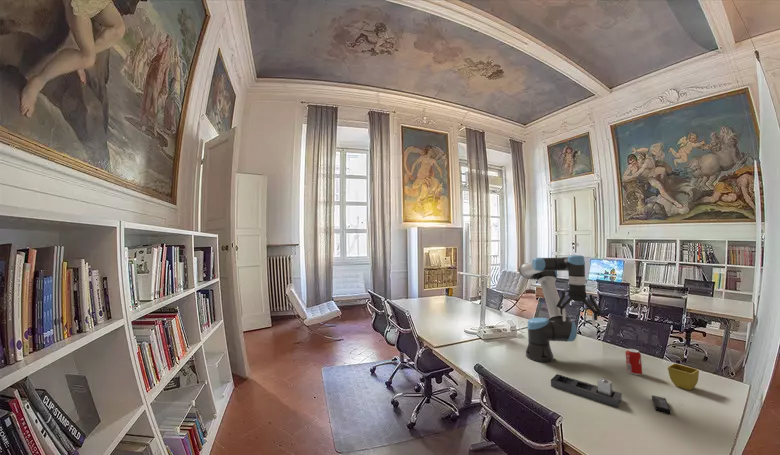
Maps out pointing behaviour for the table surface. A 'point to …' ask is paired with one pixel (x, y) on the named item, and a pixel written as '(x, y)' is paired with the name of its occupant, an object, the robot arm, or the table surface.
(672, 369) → the flower pot
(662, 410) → the multiport hub
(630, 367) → the beverage can
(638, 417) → the table surface
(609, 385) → the block
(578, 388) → the rack rail
